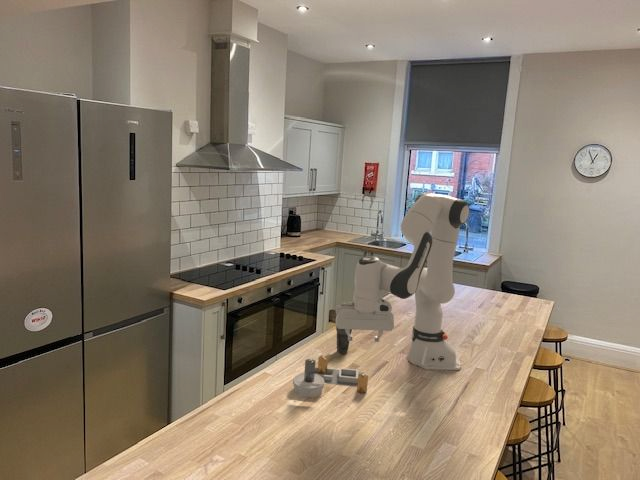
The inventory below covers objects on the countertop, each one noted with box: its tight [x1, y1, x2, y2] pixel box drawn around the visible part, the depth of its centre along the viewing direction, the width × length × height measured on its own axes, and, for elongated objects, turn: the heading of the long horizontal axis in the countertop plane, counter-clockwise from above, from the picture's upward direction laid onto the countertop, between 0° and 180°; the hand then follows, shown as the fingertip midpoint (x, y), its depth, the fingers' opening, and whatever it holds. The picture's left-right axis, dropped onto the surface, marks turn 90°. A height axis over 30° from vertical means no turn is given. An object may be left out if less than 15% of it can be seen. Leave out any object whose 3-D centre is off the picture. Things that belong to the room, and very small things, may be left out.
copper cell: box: [356, 373, 369, 395], centre depth 168 cm, size 4×4×8 cm
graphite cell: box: [303, 358, 316, 382], centre depth 165 cm, size 4×4×8 cm
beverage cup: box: [335, 326, 353, 355], centre depth 202 cm, size 7×7×20 cm
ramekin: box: [292, 372, 325, 398], centre depth 166 cm, size 11×11×5 cm
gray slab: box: [315, 365, 365, 388], centre depth 178 cm, size 22×12×3 cm, turn 86°
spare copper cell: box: [317, 355, 329, 375], centre depth 178 cm, size 4×4×8 cm
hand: (363, 340), depth 165 cm, fingers open, 8 cm apart
